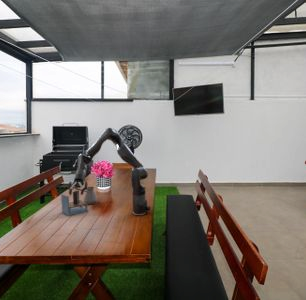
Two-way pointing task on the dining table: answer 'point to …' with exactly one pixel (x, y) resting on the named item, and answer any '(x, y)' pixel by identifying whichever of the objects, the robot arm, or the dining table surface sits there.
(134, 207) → the robot arm
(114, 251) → the dining table surface
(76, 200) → the remote
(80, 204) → the grey u-shaped bracket
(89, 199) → the coffee pot
